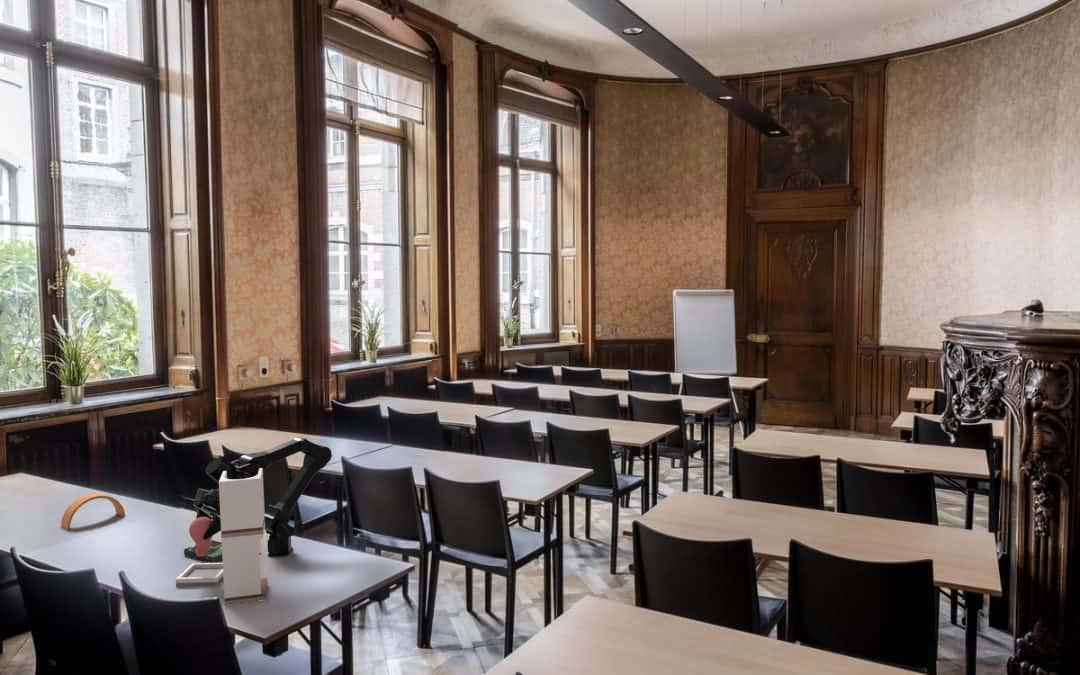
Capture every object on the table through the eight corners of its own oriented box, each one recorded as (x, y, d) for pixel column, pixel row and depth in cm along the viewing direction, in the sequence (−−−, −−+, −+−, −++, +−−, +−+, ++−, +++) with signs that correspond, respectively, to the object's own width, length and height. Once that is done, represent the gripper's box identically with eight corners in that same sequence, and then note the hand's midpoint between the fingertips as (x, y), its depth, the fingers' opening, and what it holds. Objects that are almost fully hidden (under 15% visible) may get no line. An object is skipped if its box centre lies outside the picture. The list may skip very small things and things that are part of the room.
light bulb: (221, 552, 235) (219, 514, 234) (207, 561, 228) (205, 522, 227) (200, 551, 236) (197, 513, 235) (185, 560, 229) (183, 521, 228)
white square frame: (232, 569, 239) (231, 562, 239) (217, 585, 227) (216, 578, 227) (192, 570, 238) (192, 563, 238) (175, 586, 227) (175, 578, 226)
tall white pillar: (265, 600, 216) (260, 478, 213) (224, 605, 213) (218, 481, 210) (267, 584, 227) (262, 468, 224) (228, 589, 224) (223, 471, 221)
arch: (125, 516, 292) (123, 490, 291) (67, 530, 276) (65, 503, 275) (118, 513, 295) (117, 487, 295) (60, 527, 280) (59, 500, 279)
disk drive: (183, 557, 251) (213, 565, 243) (182, 549, 250) (212, 557, 243) (211, 547, 260) (240, 554, 252) (210, 539, 259) (240, 546, 252)
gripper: (197, 472, 239) (163, 516, 232) (227, 483, 227) (192, 530, 220) (223, 491, 246) (191, 534, 238) (253, 502, 234) (220, 548, 226)
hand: (198, 536), depth 231 cm, fingers closed on light bulb, 7 cm apart
